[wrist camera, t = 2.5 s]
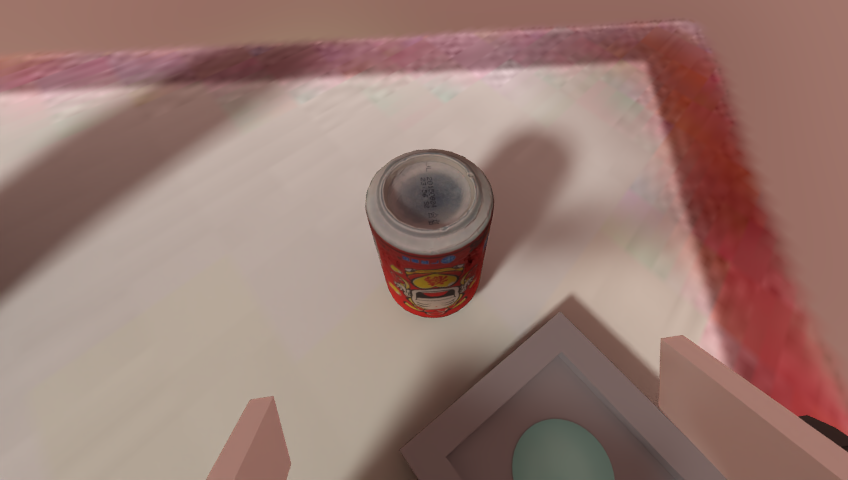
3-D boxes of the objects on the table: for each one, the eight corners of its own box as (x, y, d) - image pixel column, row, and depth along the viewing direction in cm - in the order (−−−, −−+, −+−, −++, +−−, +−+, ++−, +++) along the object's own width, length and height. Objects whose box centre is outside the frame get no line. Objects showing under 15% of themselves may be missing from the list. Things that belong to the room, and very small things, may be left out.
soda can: (398, 336, 30) (374, 261, 19) (381, 254, 33) (353, 152, 23) (490, 314, 30) (516, 229, 20) (463, 235, 34) (474, 127, 23)
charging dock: (401, 451, 26) (399, 450, 24) (553, 320, 30) (559, 311, 28) (565, 697, 20) (577, 719, 19) (727, 496, 24) (749, 498, 23)
